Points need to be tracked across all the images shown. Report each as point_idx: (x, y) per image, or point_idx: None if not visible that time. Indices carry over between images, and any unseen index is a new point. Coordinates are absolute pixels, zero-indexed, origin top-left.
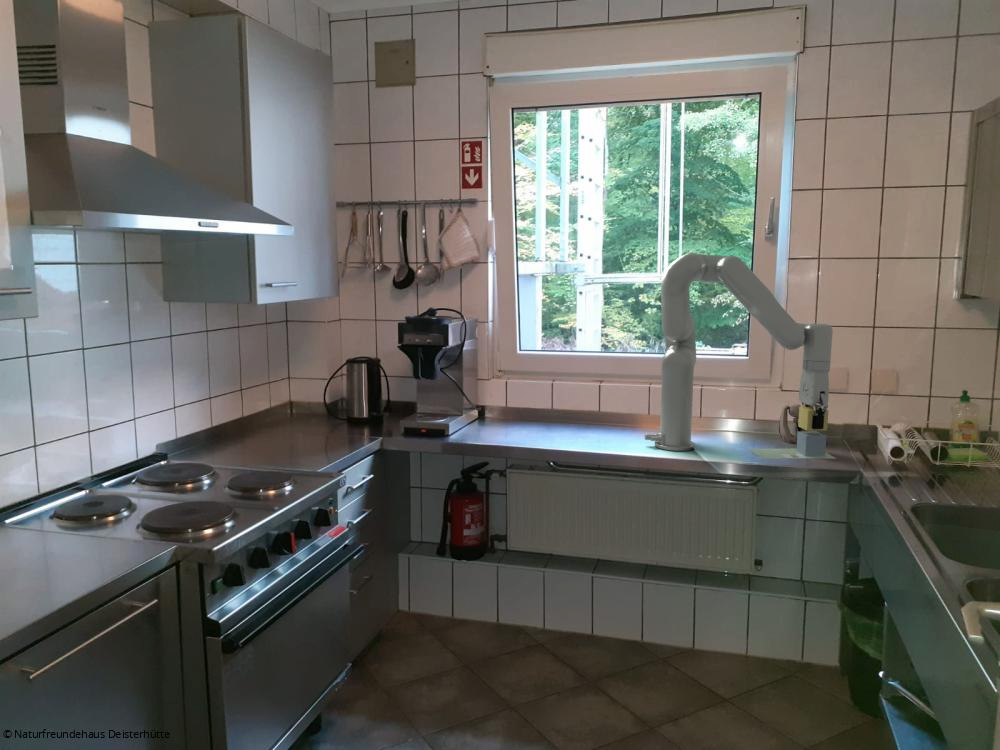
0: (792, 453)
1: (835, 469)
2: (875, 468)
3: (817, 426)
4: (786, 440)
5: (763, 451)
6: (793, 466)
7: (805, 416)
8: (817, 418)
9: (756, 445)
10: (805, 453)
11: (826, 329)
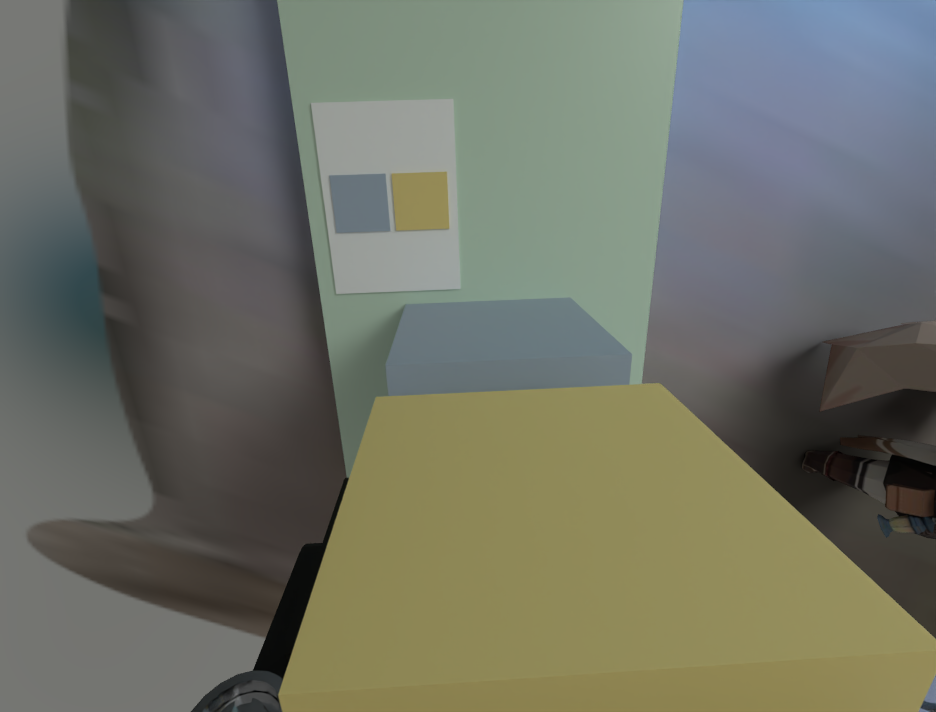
0: (485, 229)
1: (158, 404)
2: (238, 618)
3: (309, 545)
4: (872, 333)
5: None
6: (179, 114)
7: (454, 519)
8: (259, 655)
9: (930, 61)
10: (404, 311)
11: None
